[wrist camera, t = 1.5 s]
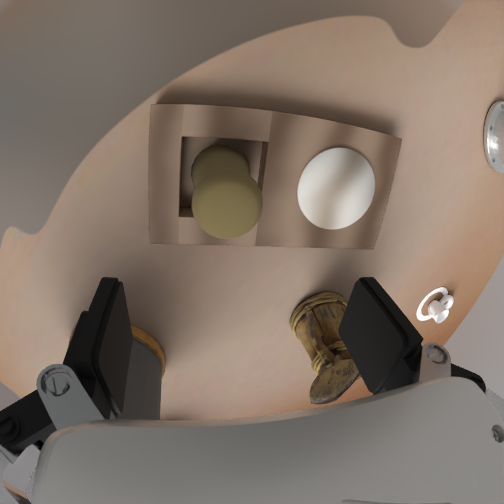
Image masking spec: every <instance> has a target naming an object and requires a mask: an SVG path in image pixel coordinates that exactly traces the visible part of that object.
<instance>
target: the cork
mask: <svg viewBox="0 0 504 504" xmlns="http://www.w3.org/2000/svg"><path fill="white" fill-rule="evenodd" d="M191 178H192V182H193V185H194V188H195V190H194V193H193V196H192V211H193V215H194V218H195V220H196V221H197V223H198V224H199V226H200V227H201V229H203V230H204V231H205V232H207V233H208V234H209V235H212V236H215V237H217V238H225V239H231V238H236V237H240V236H242V235H244V234H245V233H247V232H249V231H250V230H251V229H252V228H253V227H254V226H255V225H256V224H257V222H258V220H259V218H260V217H261V213H262V208H263V198H262V192H261V190H260V188H259V187H258V185H257V183H256V181H255V180H254V179H253V178H251V177H250V171H249V165H248V162H247V160H246V158H245V157H244V155H243V154H242V153H241V152H240V151H239V150H237V149H236V148H233V147H231V146H229V145H215V146H211V147H208V148H207V149H205V150H203V151H202V152H201V153H200V154H199V155H198V156H197V157H196V158H195V160H194V163H193V165H192V170H191Z"/></svg>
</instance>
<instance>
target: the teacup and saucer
mask: <svg viewBox="0 0 504 504" xmlns="http://www.w3.org/2000/svg"><path fill="white" fill-rule="evenodd" d="M436 292H442V293H443V298H442V299H441V300H440V301H439V302H438V301H436V300H433V301H432V302H431V303H430V304H429V306H428V313H429V315H428V316H423V315H422V314H421V308H422V306H423V304H424V302H425V301H426V300H427V299H428V298H429V297H430V296H431V295H432V294H434V293H436ZM447 301H448V302H447ZM446 302H447V303H446ZM453 302H454V299H453V297H452V296H451V295H448V291H447V289H446V288H444V287H439V288H436V289H434V290H433V291H431V292H430V293H429V294H428V295H427V296H426V297H425V298H424V299H423V300H422V302H421V303H420V305H419V307H418V310H417V318H418V319H419V320H421V321H424V320H428V319H430V318H432V317H433V318H434V320H435V321H436V322H437V323H440V322H442V321H443V320H445V318H446V317H447V316H448V313H449V311H448V309H449V308H450V307H451V306H452V304H453ZM445 303H446V304H445ZM444 304H445V305H444Z"/></svg>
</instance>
